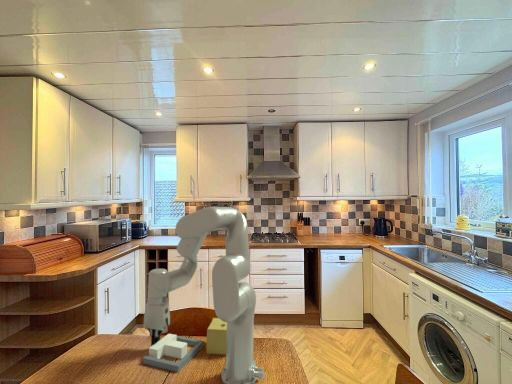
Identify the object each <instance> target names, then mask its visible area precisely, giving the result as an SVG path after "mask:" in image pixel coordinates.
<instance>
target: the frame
mask: <svg viewBox="0 0 512 384" xmlns="http://www.w3.org/2000/svg"><path fill="white" fill-rule="evenodd" d="M177 341H180V342H185V343H187V346H192V348H191V350H189V351H187V354H186V355H185V356H184V357H183V358H182V359H180V360H179V361H178V362H175V361H174V362H173V361H170V360H167V359H161V358H160V359H158V358H154V357H149V355H145V356H143V359H142V364H143V365H146V366H147V365H148V366H152V367H155V368H160V369H164V370H167V371H171V372H175V373H179V372H180V371H181V370H182V369H183V368H184V367H185V366H186V365H187V364H188V363H189V362H190V361H191V360H192V359H193V358H194V357H195V356H196V355H197V354H198V353H199V351H200V350H201V349H203V348H204V347H205V341H204V340H201V339H195V338H190V337H185V336H180V335H177Z"/></svg>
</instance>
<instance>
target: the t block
mask: <svg viewBox="0 0 512 384" xmlns="http://www.w3.org/2000/svg"><path fill="white" fill-rule="evenodd" d="M177 336H178V335H177V334H172V333H167V334H166V335H165V336H163V337H162V338H160V340H159V341H158V342H157V343H155V344H154V345H153V346H151V345H150V347H149V348H148V356H149V357H154V358H158V359H161V358H163V357H164V356H167V357H171V358H175V359H178V360H179V359H180V360H181V359H182V358H183V357H184V356H185V355H186V354H187V353H188V345H187V343H185V342H180V341H177Z"/></svg>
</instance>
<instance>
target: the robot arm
mask: <svg viewBox="0 0 512 384" xmlns="http://www.w3.org/2000/svg"><path fill="white" fill-rule="evenodd" d="M248 225H249V224H248V221H247V218H246V216H245V215H244V214H243V213H242V212H241V211H240V210H238V209H236V208H233V207H230V206H207V207H204V208H201V209H199V210H196V211H194V212H191V213H189V214H186V215H184V216H182V217H181V218H179V219H178V221H177V222H176V226H175V233H176V235H177V236H178V238H179V239H180V240H179V242H178V244H177V246H176V251H177V253H178V254H179V255H180V256H181V257H183V261H182V263H181V264H180V267H179V268H178V269H174V270H171V271H168V270H167V269H166V268H154V269H151V270H150V271H149V273H148V283H147V284H148V285H147V302H146V304H145V307H144V308H145V309H144V313H143V326H144V329H145V330H147V331H148V332H149V336H150V338H151V339H150V342H151V343H150V347H151V346H153V345H154V344H155V343H157V342H158V341H159V340H161V335H162V334H166V333H168V327H170V324H171V312H170V304H169V300H170V299H169V298H168V293H170V292H174V291H176V290H177V289H178V290H179V289H180V288H182V287H185V286H186V285H188V284H189V283H190V282H191V280H192V279H193V277H194V275H195V273H196V271H197V268H198V256H197V255H198V254H199V252H200V250H201V248H202V245H203V243H204V241H205V240H206V238H207V235H208V234H209V233H210V232H214V231H215V232H216V231H221V230H226V236H225V239H224V241H225V242H224V243H225V244H224V245H225V255H224V256H222V257H221V258H219V259H217V261H216V262H215V263H214V264H213V267H212V271H211V281H212V282H211V285H212V300H213V301H212V303H213V304H212V305H213V308H214V313H215V315H216V316H217V318H219V319H220V320H222V321H223V322H227V333H226V355H225V366H224V368H223V369H222V371H221V375H220V377H221V381H222V383H223V384H255V383H256V381H257V379H261V380H264V379H265V375H266V372H264V367H261V366H260V367H259V366H257V365H256V364H257V363H256V360H254V332H255V331H254V329H255V328H254V327H255V326H254V324H255V322H254V321H255V311H256V310H255V309H256V304H257V303H256V302H257V295H256V290H255V288H254V287H253V286H252V285H251V284H250V283H249V282H246V281H242V280H245V278H247V276H249V274H250V272H251V258H250V243H249V228H248ZM240 281H241V282H240Z"/></svg>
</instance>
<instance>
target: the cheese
mask: <svg viewBox="0 0 512 384" xmlns="http://www.w3.org/2000/svg"><path fill="white" fill-rule="evenodd" d="M226 333H227V322H223V321H222V320H220V319H219V318H218V317H212V320H211V322H210V324H209V326H208V327H207V329H206V354H209V355H223V356H224V355H225V356H226Z"/></svg>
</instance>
